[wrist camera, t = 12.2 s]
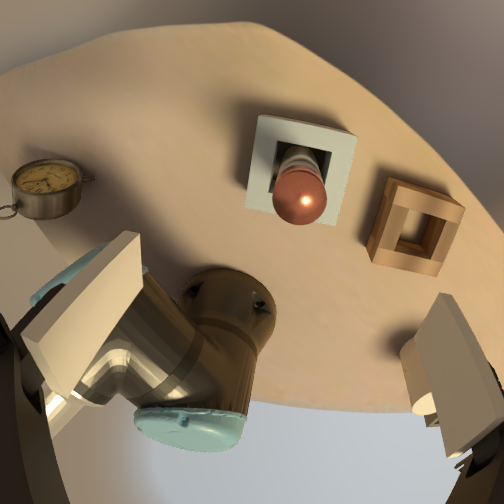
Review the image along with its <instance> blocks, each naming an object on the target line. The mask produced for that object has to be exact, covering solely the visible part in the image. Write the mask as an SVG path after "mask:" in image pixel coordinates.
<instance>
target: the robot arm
mask: <svg viewBox="0 0 504 504" xmlns="http://www.w3.org/2000/svg"><path fill="white" fill-rule="evenodd" d="M148 270H149V269H148V268H147V267H146V266H144V265H142V264H141V248H140V233H135V232H130V231H125V230H124V231H123V232H122V233H121V234H120V235H119V236H117V237H116V238H115V239H114V240H113V241H107V242H105V243H103V244H101V245H99V246H98V247H96V248H94V249H93V250H91V251H90V252H88V253H87V254H85V255H84V256H83V257H81V258H80V259H78V260H77V261H75V262H74V263H73V264H71V265H70V266H69V267H67V268H66V269H65V270H63V271H62V272H61V273H59V274H58V275H57V276H55V277H54V278H53V279H52V280H50V281H49V282H48V283H47V284H45V285H44V286H43V287H42V288H41V289H40V290H39V291H38V292H36V293H35V294H34V295H33V296H32V297H31V298H30V304H31V305H32V308H31V309H30V310H29V311H28V312H27V314H26V315H25V316H24V317H23V318H22V319H21V320H20V321H19V322H18V323H17V324H16V325H15V327H14V328H13V329H12V330H11V331H10V329H9V327H8V325H7V323H6V321H5V319H4V317H3V316H2V314H1V313H0V504H70V502H69V500H68V497H67V494H66V491H65V488H64V484H63V481H62V478H61V475H60V471H59V468H58V464H57V461H56V456H55V453H54V448H53V444H52V438H53V437H54V436H55V435H56V434H57V433H58V432H59V431H60V430H61V429H62V428H63V427H64V426H65V425H66V424H67V422H68V421H70V419H71V418H72V417H73V416H74V415H75V414H76V413H77V412H78V411H79V410H80V409H81V408H82V407H83V406H84V405H87V406H96V407H102V406H105V405H106V404H107V403H108V402H109V401H110V400H111V399H112V398H113V397H114V396H115V395H116V394H117V393H119V394H121V395H122V396H124V397H125V398H126V399H127V400H129V401H130V402H131V403H132V404H134V405H135V406H136V407H137V408H138V409H137V410H136V411H135V413H134V424H135V426H136V427H137V428H138V430H139V431H140V432H142V433H143V434H145V435H146V436H148V437H150V438H152V439H154V440H156V441H159V442H161V443H164V444H166V445H169V446H172V447H176V448H180V449H184V450H190V451H196V452H220V451H225V450H228V449H230V448H232V447H234V446H235V445H236V444H237V443H238V441H239V440H240V437H241V434H242V430H243V426H244V423H245V422H246V421H247V413H248V407H249V402H250V396H251V390H252V384H253V379H254V373H255V367H256V361H257V356H258V355H259V353H260V352H261V350H262V349H263V347H264V346H265V344H266V343H267V341H268V340H269V338H270V337H271V335H272V333H273V330H274V327H275V322H276V305H275V302H274V300H273V298H272V296H271V294H270V293H269V291H268V290H267V289H266V288H265V287H264V286H263V285H262V284H261V283H260V282H258V281H257V280H255V279H254V278H252V277H250V276H248V275H246V274H244V273H241V272H238V271H234V270H229V269H212V270H207V271H204V272H201V273H199V274H197V275H196V276H194V277H193V278H192V279H190V281H189V282H188V283H187V284H186V286H185V288H184V289H183V291H182V293H181V295H180V298H179V301H178V305H177V304H176V303H175V301H174V300H173V299H172V298H171V297H170V296H169V295H168V294H167V293H166V291H165V290H164V289H163V288H162V287H161V286H160V285H159V284H158V282H157V281H156V280H155V279H154V278H153V277H152V276H151V274H150V273H149V272H148ZM414 340H415V343H416V346H417V349H418V352H419V355H420V358H421V361H422V364H423V367H424V370H425V373H426V376H427V380H428V383H429V387H430V390H431V393H432V397H433V401H434V404H435V408H436V412H437V416H438V420H439V424H440V428H441V433H442V437H443V442H444V447H445V452H446V457H447V458H451V457H456V456H461V455H462V454H464V453H465V452H466V451H468V450H469V449H470V448H472V452H473V453H472V454H470V455H469V456H468V457H466V458H465V459H463V460H462V461H461V462H459V463H458V464H456V466H455V467H454V468H455V469H457V468H458V467H460V466H461V465H463V464H464V466H463V467H462V468H460V469H459V471H460V472H461V474H460V476H459V478H458V480H457V482H456V484H455V486H454V488H453V490H452V492H451V494H450V496H449V498H448V500H447V502H446V504H504V390H503V389H502V386H501V383H500V381H498V380H499V379H498V376H497V374H496V372H495V370H494V368H493V367H492V366H491V364H490V363H489V362H488V361H487V359H486V357H485V355H484V353H483V351H482V349H481V347H480V345H479V343H478V341H477V339H476V337H475V335H474V333H473V331H472V329H471V328H470V326H469V324H468V322H467V320H466V319H465V317H464V315H463V313H462V312H461V310H460V308H459V306H458V305H457V303H456V301H455V300H454V298H453V296H452V295H450V294H445V293H440V292H439V294H438V296H437V298H436V300H435V302H434V303H433V305H432V307H431V309H430V311H429V312H428V314H427V316H426V318H425V319H424V321H423V323H422V324H421V326H420V328H419V329H418V331H417V333H416V334H415V336H414Z"/></svg>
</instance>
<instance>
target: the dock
mask: <svg viewBox="0 0 504 504" xmlns="http://www.w3.org/2000/svg"><path fill="white" fill-rule="evenodd" d="M357 139H358V136H356V135H354V134H352V133H351V132H348V131H344V130H340V129H336V128H332V127H328V126H323V125H319V124H314V123H310V122H305V121H300V120H295V119H289V118H284V117H278V116H272V115H266V114H263V115H259V116H258V121H257V128H256V134H255V141H254V147H253V154H252V161H251V167H250V174H249V181H248V188H247V195H246V201H245V208H248V209H253V210H259V211H264V212H269V213H274V214H277V213H276V211H275V209H274V207H273V203H272V194H273V190H274V187H275V183H276V181H273V180H272V178H273V172H274V167H275V161H276V155H277V149H278V144H279V141H282V142H288V143H293V144H298V145H303V146H308V147H312V148H317V149H321V150H326V155H325V159H324V164H323V169H322V173H321V177H322V180H323V184H324V187H325V191H326V194H327V204H326V208H325V210H324V212H323V214H322V215H321V216H320V217H319V218H318V219H317V220H315V221H314V222H318V223H322V224H327V225H332V226H335V225H336V222H337V218H338V215H339V211H340V207H341V204H342V200H343V196H344V192H345V189H346V185H347V181H348V177H349V173H350V169H351V165H352V160H353V156H354V152H355V147H356V143H357Z"/></svg>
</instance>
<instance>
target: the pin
mask: <svg viewBox="0 0 504 504" xmlns="http://www.w3.org/2000/svg"><path fill="white" fill-rule="evenodd" d="M272 203H273V207H274V209H275V211H276V213H277V214H278V215H279V216H280V217H281V218H282V219H283V220H284V221H286V222H288V223H291V224H295V225H305V224H309V223H312V222H314V221H315V220H317V219H318V218H319V217H320V216H321V215H322V214H323V212H324V210H325V208H326V204H327V194H326V191H325V187H324V184H323V180H322V177H321V174H320V171H319V167H318V164H317V161H316V158H315V155H314V154H313V152H312V151H311V150H310V149H308V148H306V147H304V146H294V147H291V148H290V149H288V150H287V151H286V152H285V154H284V156H283V159H282V162H281V166H280V169H279V173H278V176H277V180H276V183H275V187H274V190H273V194H272Z"/></svg>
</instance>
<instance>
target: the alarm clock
mask: <svg viewBox="0 0 504 504" xmlns="http://www.w3.org/2000/svg"><path fill="white" fill-rule="evenodd" d="M88 180H94V176H91V177H87V176H86V177H83V173H82V171H81V169H80V168H79V167H78V166H77V165H76V164H74V163H72V162H69V161H66V160H60V159H42V160H37V161H33V162H30V163H28V164H25V165H23V166H22V167H20V168H19V169H18V170H17V171H16V172H15V173H14V174H13V176H12V179H11V183H12V197H13V205H12V206H10V205H7V206H3V207H1V208H0V210H1V209H4V208H10V207H11V208H12V210H13V211H16V212H15V214H13V215H11V216H8V217H0V219H2V220H5V219H10V218H12V217H14V216H15V215H16V214H17V212H18V213H19V214H21V215H23V216H24V217H26V218H29V219H33V220H51V219H56V218H59V217H61V216H64V215H66V214H68V213H69V212H71V211H72V210H73V209H74V208H75V207H76V206H77V205H78V203H79V201H80V199H81V187H82V182H83V181H88Z"/></svg>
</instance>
